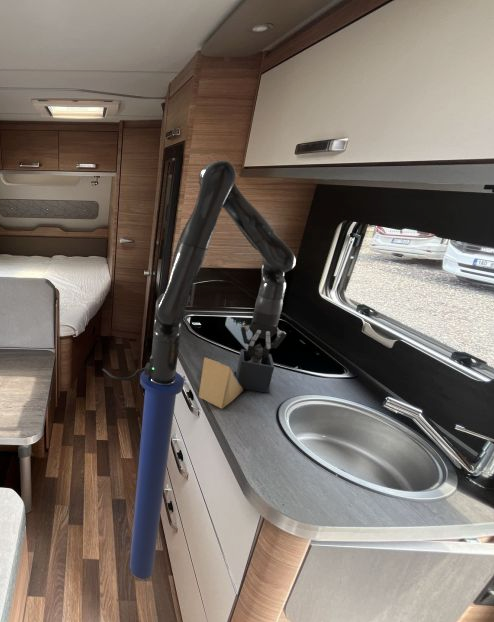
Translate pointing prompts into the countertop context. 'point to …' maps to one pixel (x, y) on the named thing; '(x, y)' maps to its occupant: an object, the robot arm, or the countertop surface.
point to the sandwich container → (218, 384)
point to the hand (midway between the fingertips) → (257, 355)
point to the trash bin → (254, 372)
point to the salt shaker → (257, 354)
